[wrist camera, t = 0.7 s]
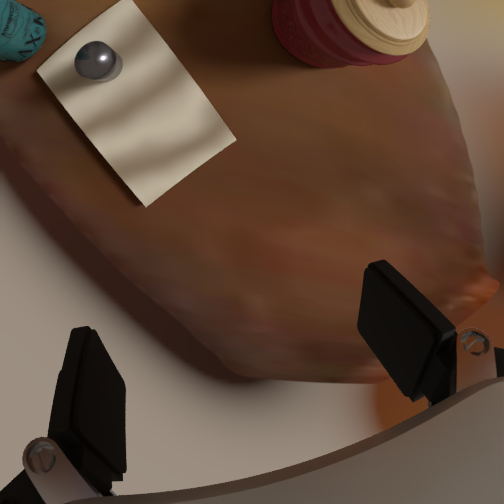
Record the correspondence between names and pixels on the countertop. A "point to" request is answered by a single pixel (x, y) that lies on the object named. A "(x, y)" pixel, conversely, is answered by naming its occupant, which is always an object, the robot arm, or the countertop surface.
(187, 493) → the robot arm
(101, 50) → the cylinder
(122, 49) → the cream rippled cloth
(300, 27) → the canister
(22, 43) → the beverage bottle
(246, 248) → the countertop surface
